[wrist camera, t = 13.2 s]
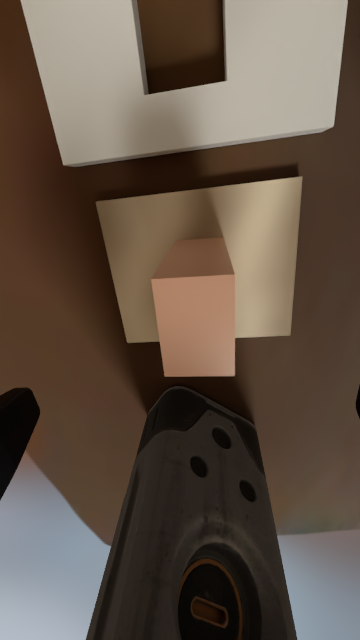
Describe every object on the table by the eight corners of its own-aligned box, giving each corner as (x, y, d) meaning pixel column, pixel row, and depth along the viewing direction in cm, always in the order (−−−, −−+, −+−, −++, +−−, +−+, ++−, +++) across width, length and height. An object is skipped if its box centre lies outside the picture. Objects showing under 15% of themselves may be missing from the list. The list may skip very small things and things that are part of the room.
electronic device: (263, 425, 24) (428, 1135, 6) (224, 461, 26) (257, 1036, 8) (174, 376, 22) (37, 1120, 5) (141, 418, 25) (-30, 1003, 7)
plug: (223, 237, 17) (234, 274, 9) (224, 303, 18) (234, 376, 11) (175, 240, 17) (151, 279, 10) (181, 305, 19) (164, 376, 12)
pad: (299, 176, 15) (302, 176, 15) (287, 331, 20) (290, 335, 19) (99, 201, 17) (95, 201, 16) (129, 339, 21) (127, 343, 21)
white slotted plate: (353, -190, 10) (375, -248, 9) (322, 132, 14) (333, 126, 13) (12, -92, 12) (-13, -127, 11) (75, 167, 16) (63, 165, 15)
